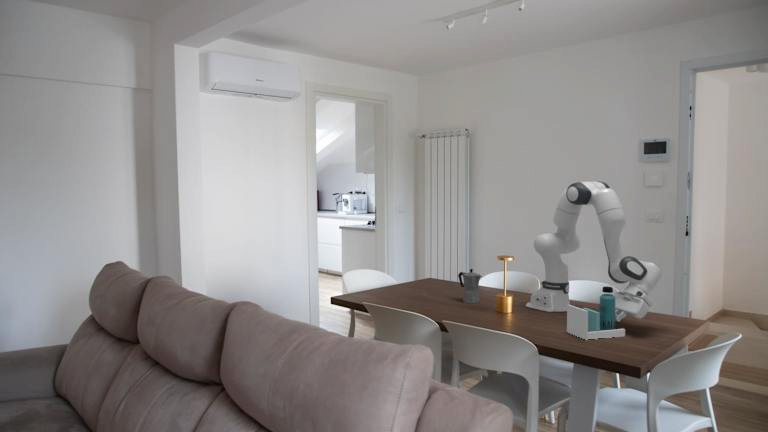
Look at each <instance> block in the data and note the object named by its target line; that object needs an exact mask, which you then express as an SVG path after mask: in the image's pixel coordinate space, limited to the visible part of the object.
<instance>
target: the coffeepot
mask: <svg viewBox="0 0 768 432" xmlns="http://www.w3.org/2000/svg"><path fill="white" fill-rule="evenodd" d="M473 270H474V269H472V268H471V269H469V272H463V271H460V272H459V273H458V274H457V277H458V280H459V285H460V287H462V288H465V289H464V292H463V298H462V302H463V303H464V304H465V303H466V304H478V303H480V301H481V300H480V293H479V290H478V289H479V288H478V287H479V285H480V280H481V278H482V275H481V274H480V273H476V272H474V271H473ZM462 278H463V280H462Z"/></svg>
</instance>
